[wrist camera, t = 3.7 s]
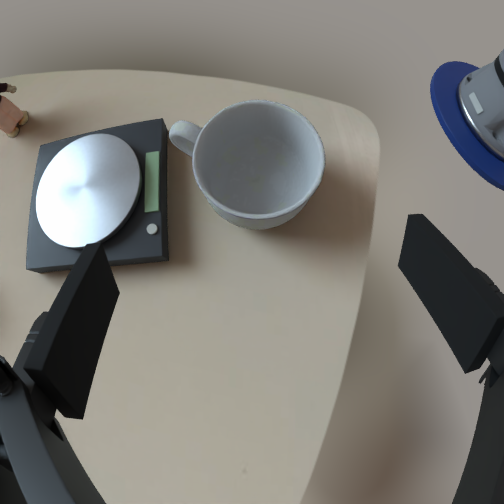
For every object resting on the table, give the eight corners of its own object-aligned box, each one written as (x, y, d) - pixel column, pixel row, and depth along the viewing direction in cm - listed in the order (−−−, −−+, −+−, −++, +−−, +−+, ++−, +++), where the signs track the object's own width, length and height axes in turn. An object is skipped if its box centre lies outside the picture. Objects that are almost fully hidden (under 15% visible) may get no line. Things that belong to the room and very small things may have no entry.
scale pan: (144, 127, 31) (142, 123, 30) (141, 242, 28) (139, 240, 28) (47, 149, 31) (44, 146, 30) (35, 255, 28) (31, 253, 27)
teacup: (328, 179, 33) (348, 141, 25) (270, 263, 31) (278, 244, 23) (221, 115, 35) (215, 68, 27) (159, 187, 33) (136, 151, 25)
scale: (167, 129, 34) (162, 116, 32) (168, 260, 31) (161, 255, 29) (49, 154, 34) (39, 144, 31) (38, 272, 31) (24, 269, 28)
